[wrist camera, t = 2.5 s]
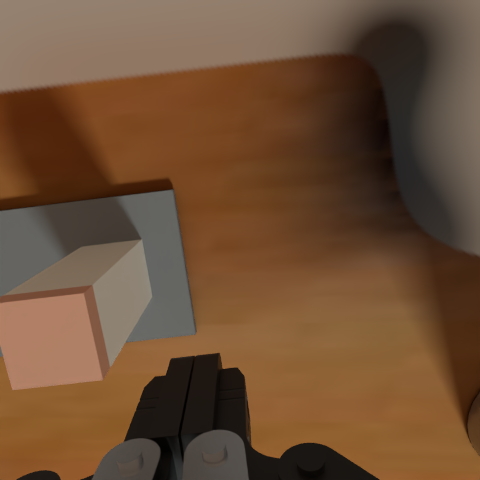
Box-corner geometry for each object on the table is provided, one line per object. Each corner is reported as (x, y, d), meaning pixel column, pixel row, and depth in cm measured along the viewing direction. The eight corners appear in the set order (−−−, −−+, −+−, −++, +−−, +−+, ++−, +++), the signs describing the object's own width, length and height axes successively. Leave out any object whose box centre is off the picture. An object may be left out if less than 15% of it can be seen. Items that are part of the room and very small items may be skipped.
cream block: (141, 239, 26) (83, 293, 17) (152, 296, 27) (102, 379, 17) (81, 246, 26) (-12, 304, 17) (94, 303, 27) (12, 390, 18)
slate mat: (173, 189, 26) (172, 189, 26) (196, 331, 28) (195, 334, 28) (-96, 222, 27) (-103, 224, 26) (-54, 359, 29) (-59, 363, 28)
